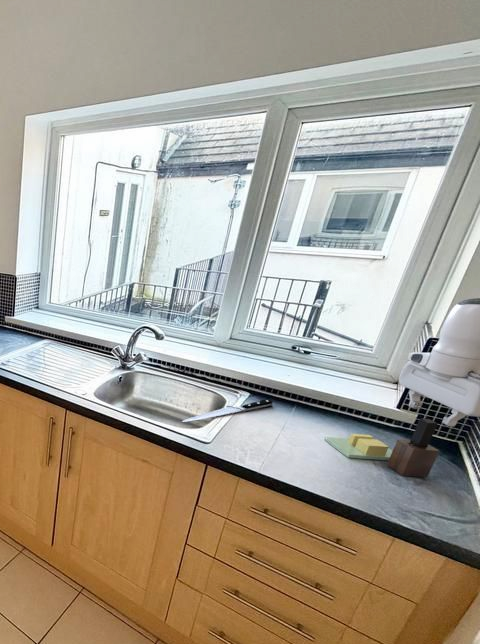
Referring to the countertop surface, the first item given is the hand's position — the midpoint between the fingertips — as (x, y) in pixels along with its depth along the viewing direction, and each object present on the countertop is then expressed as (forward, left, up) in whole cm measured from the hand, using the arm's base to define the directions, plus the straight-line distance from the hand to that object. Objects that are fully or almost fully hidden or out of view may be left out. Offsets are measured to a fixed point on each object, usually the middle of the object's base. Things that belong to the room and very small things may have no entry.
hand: (430, 416), depth 106 cm
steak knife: (+33, -29, -17) cm, 47 cm away
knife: (0, 0, -16) cm, 16 cm away
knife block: (0, 0, -16) cm, 16 cm away
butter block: (+4, -7, -15) cm, 18 cm away
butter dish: (+4, -10, -16) cm, 20 cm away
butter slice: (+4, -11, -15) cm, 20 cm away
